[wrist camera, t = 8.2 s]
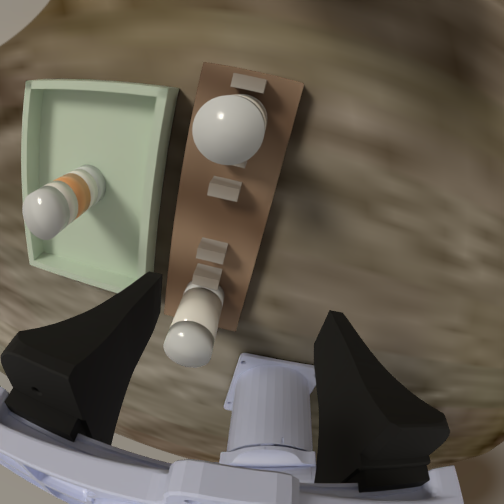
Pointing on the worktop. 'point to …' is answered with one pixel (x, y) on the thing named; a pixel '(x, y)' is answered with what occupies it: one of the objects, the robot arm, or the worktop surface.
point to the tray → (111, 166)
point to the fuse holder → (228, 195)
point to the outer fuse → (230, 128)
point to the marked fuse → (63, 201)
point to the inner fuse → (194, 326)
